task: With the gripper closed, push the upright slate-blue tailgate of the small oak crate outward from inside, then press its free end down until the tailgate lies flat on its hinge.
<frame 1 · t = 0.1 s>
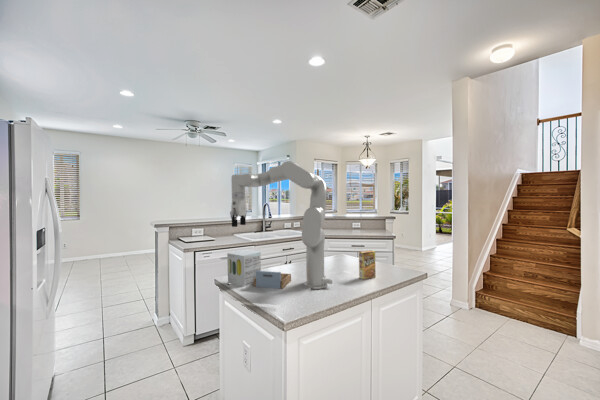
hand: (238, 225, 160), 31 cm above the counter, fingers open, 9 cm apart
crate: (272, 285, 149), on the counter
tailgate: (268, 279, 143), point 5 cm above the counter, hinge at 0.0°
supplement box: (244, 283, 153), on the counter
candy box: (367, 278, 161), on the counter
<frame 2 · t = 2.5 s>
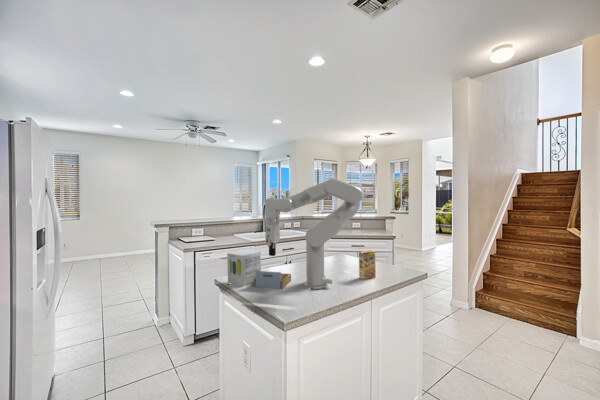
hand: (272, 255, 149), 16 cm above the counter, fingers closed
nothing on the counter moved.
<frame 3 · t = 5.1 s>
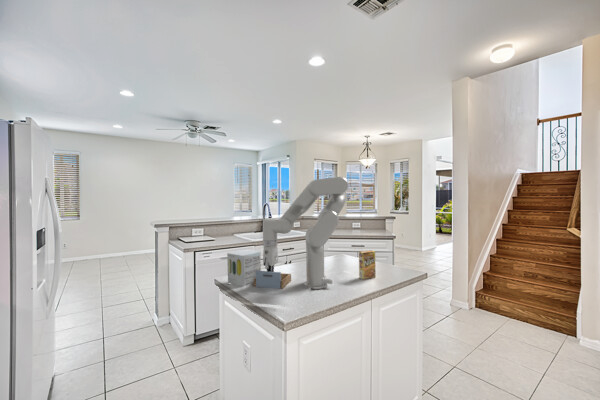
hand: (270, 277, 146), 5 cm above the counter, fingers closed
tailgate: (268, 279, 143), point 5 cm above the counter, hinge at 0.4°, touching gripper
everything else where it was.
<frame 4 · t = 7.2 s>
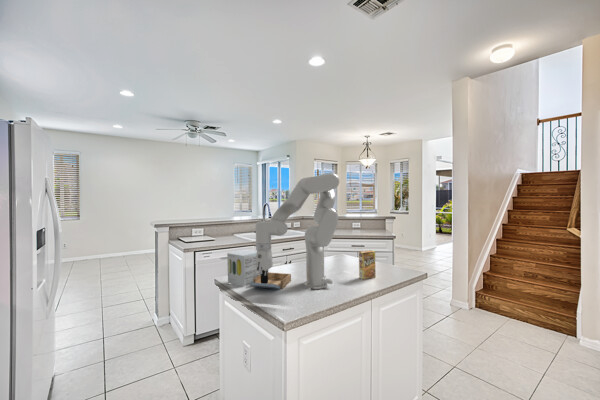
hand: (264, 283, 138), 5 cm above the counter, fingers closed
tailgate: (265, 286, 139), point 3 cm above the counter, hinge at 63.2°, touching gripper
everything else where it was.
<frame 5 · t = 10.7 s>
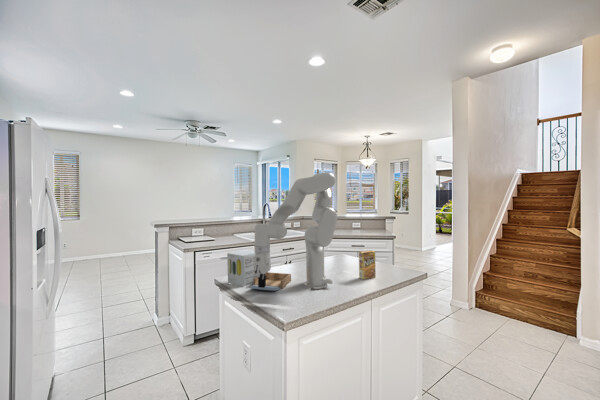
hand: (261, 286, 136), 4 cm above the counter, fingers closed
tailgate: (265, 288, 139), point 2 cm above the counter, hinge at 75.4°, touching gripper
everything else where it was.
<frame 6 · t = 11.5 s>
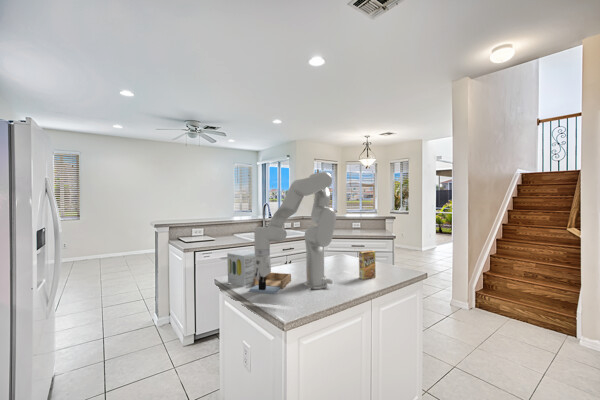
hand: (262, 289, 136), 2 cm above the counter, fingers closed
tailgate: (265, 289, 139), point 1 cm above the counter, hinge at 86.1°, touching gripper
everything else where it was.
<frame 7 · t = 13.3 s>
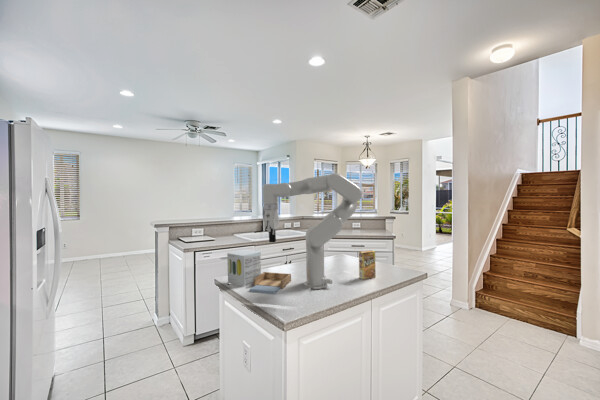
hand: (272, 241, 147), 24 cm above the counter, fingers closed
tailgate: (265, 289, 139), point 1 cm above the counter, hinge at 86.3°
everything else where it was.
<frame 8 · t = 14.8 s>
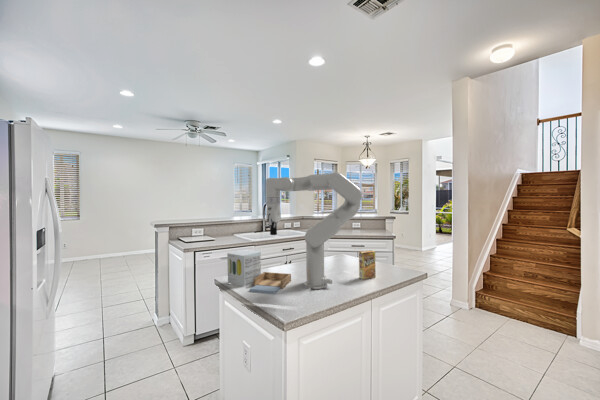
hand: (273, 234, 150), 27 cm above the counter, fingers closed
nothing on the counter moved.
at the end: tailgate at +86° (first picture: +0°) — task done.
